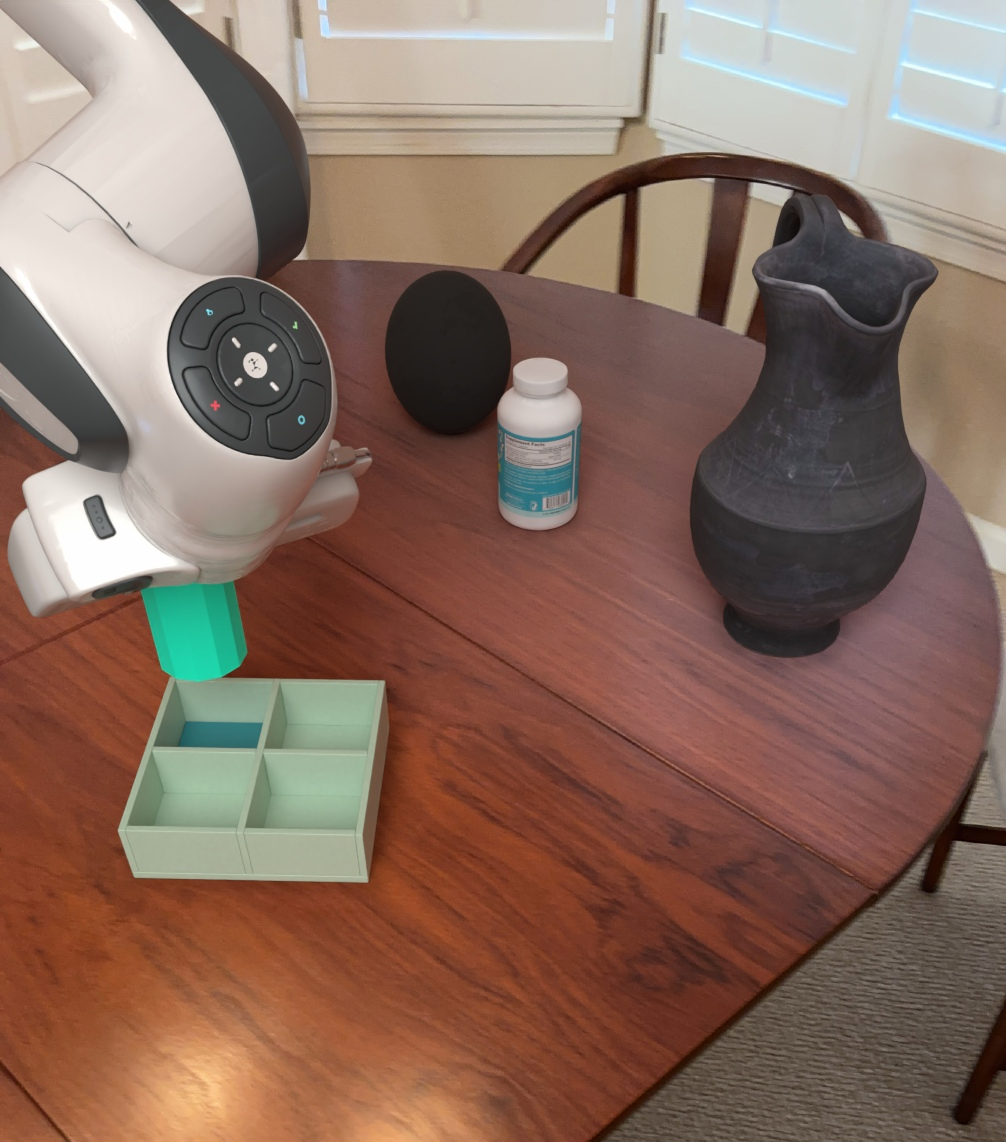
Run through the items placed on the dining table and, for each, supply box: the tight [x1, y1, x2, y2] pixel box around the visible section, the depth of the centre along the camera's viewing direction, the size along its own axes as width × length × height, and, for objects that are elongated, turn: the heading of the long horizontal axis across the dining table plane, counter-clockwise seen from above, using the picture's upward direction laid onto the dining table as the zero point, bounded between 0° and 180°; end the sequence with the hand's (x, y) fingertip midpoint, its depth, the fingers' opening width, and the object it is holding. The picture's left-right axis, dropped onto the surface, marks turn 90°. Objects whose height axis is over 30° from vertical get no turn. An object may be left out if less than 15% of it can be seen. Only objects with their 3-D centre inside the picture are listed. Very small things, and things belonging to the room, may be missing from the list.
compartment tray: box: [117, 676, 390, 884], centre depth 83 cm, size 16×16×5 cm
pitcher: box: [689, 192, 939, 658], centre depth 89 cm, size 17×21×30 cm
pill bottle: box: [496, 357, 583, 531], centre depth 105 cm, size 8×7×14 cm
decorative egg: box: [384, 269, 512, 434], centre depth 115 cm, size 12×12×15 cm
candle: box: [140, 580, 248, 682], centre depth 76 cm, size 6×6×12 cm
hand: (177, 565), depth 75 cm, fingers closed on candle, 5 cm apart
